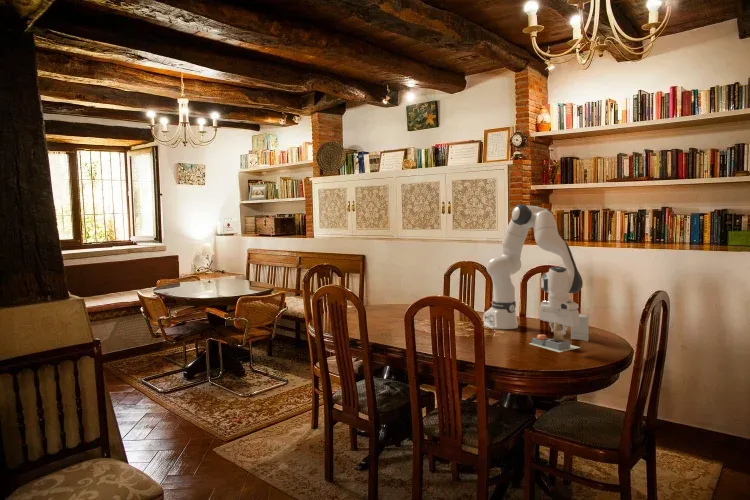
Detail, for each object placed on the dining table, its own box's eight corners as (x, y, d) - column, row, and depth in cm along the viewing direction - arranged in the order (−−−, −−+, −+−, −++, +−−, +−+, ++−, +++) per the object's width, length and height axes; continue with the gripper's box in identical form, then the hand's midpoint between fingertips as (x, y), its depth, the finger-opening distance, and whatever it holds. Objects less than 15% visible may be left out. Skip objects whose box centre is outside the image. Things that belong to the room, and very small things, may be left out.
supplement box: (588, 339, 254) (589, 314, 253) (586, 343, 248) (586, 317, 247) (572, 338, 258) (573, 313, 257) (570, 341, 252) (570, 315, 251)
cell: (552, 340, 238) (551, 319, 237) (558, 338, 240) (558, 318, 239) (559, 341, 234) (559, 320, 233) (565, 340, 236) (565, 319, 235)
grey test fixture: (528, 346, 245) (528, 337, 244) (549, 342, 251) (549, 333, 251) (559, 355, 229) (559, 345, 229) (580, 350, 236) (580, 340, 235)
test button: (535, 340, 245) (535, 335, 244) (541, 338, 247) (541, 333, 246) (542, 341, 241) (542, 336, 241) (548, 340, 243) (548, 335, 243)
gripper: (535, 300, 243) (536, 329, 244) (572, 307, 225) (572, 338, 226) (545, 299, 246) (545, 328, 247) (581, 305, 228) (581, 336, 229)
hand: (558, 333), depth 236 cm, fingers closed on cell, 4 cm apart
